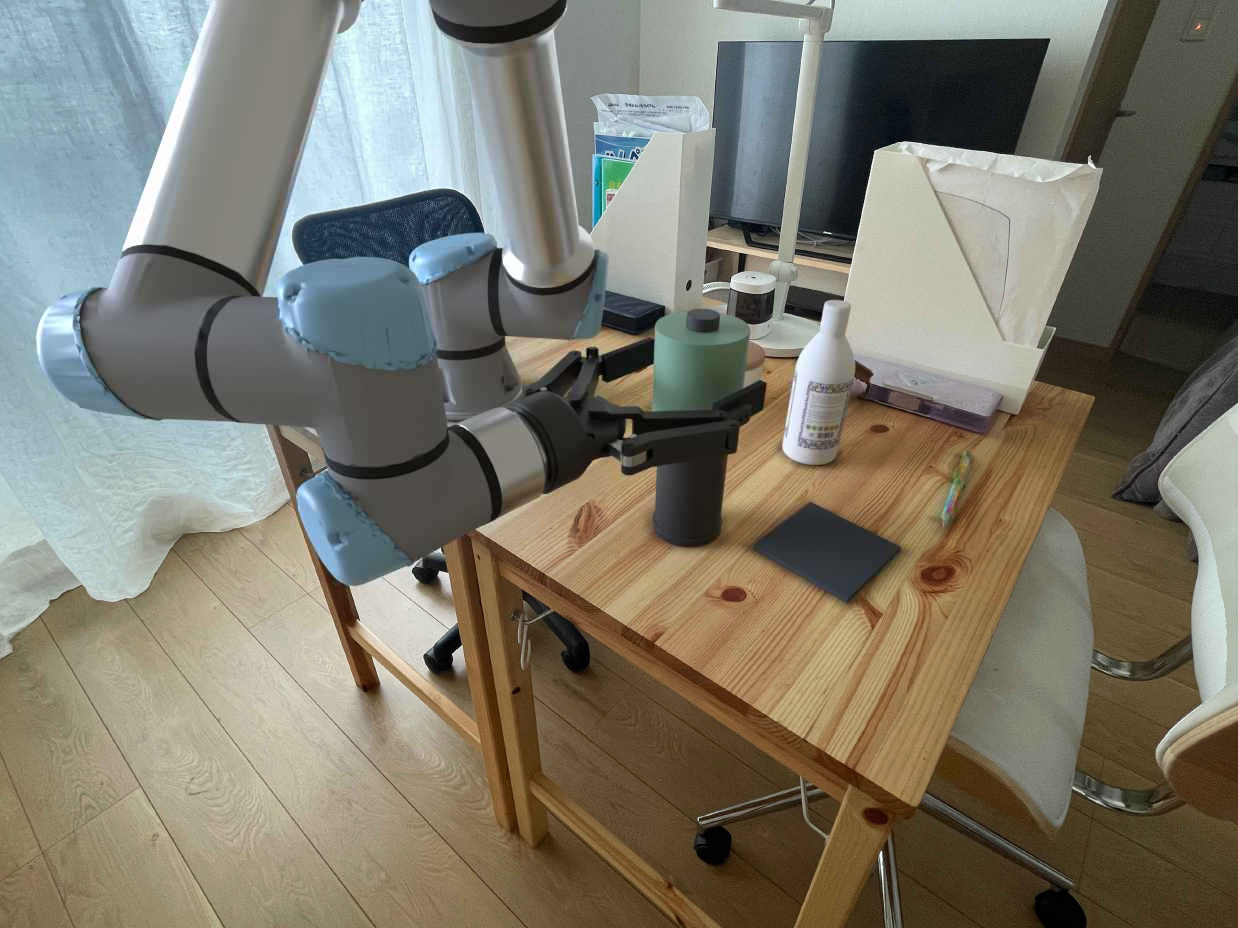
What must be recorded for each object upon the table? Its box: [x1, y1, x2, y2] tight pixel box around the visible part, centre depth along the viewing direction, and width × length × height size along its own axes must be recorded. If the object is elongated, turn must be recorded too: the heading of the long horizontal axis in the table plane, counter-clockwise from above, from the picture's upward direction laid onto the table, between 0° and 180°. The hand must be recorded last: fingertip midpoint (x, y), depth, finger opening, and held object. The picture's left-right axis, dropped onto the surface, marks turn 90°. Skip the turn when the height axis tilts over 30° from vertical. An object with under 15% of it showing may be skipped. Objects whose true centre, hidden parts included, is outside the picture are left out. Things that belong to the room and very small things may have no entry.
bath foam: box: [781, 299, 856, 466], centre depth 77 cm, size 7×7×20 cm
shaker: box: [652, 455, 729, 548], centre depth 66 cm, size 8×8×13 cm
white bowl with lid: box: [743, 340, 766, 388], centre depth 93 cm, size 11×11×9 cm
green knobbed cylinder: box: [651, 308, 751, 411], centre depth 60 cm, size 9×9×11 cm
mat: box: [752, 501, 902, 604], centre depth 66 cm, size 11×11×1 cm
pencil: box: [940, 449, 975, 529], centre depth 75 cm, size 1×1×18 cm
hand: (703, 371), depth 60 cm, fingers open, 13 cm apart
